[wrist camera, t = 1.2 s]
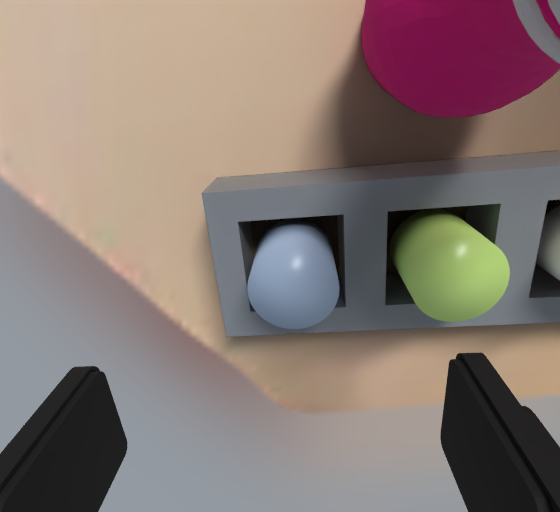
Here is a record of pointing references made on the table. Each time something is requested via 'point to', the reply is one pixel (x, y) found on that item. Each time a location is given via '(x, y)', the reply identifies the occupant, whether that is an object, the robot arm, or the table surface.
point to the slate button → (293, 275)
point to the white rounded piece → (550, 243)
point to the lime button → (448, 266)
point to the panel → (373, 235)
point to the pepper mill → (461, 51)
